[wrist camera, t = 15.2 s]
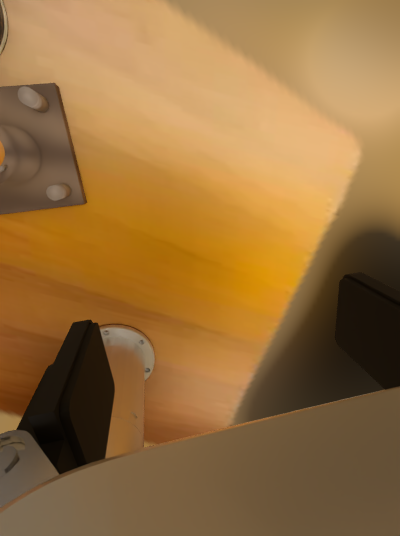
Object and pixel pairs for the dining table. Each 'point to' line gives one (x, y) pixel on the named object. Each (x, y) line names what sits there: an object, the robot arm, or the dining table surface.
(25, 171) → the beer glass
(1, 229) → the dining table surface
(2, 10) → the coffee can
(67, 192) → the peg stand
